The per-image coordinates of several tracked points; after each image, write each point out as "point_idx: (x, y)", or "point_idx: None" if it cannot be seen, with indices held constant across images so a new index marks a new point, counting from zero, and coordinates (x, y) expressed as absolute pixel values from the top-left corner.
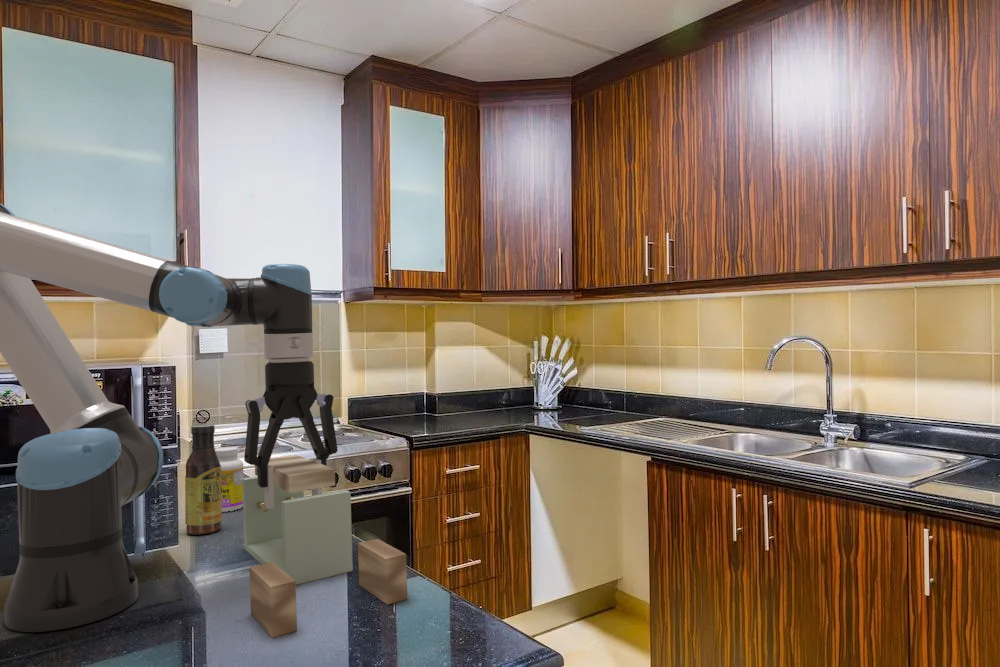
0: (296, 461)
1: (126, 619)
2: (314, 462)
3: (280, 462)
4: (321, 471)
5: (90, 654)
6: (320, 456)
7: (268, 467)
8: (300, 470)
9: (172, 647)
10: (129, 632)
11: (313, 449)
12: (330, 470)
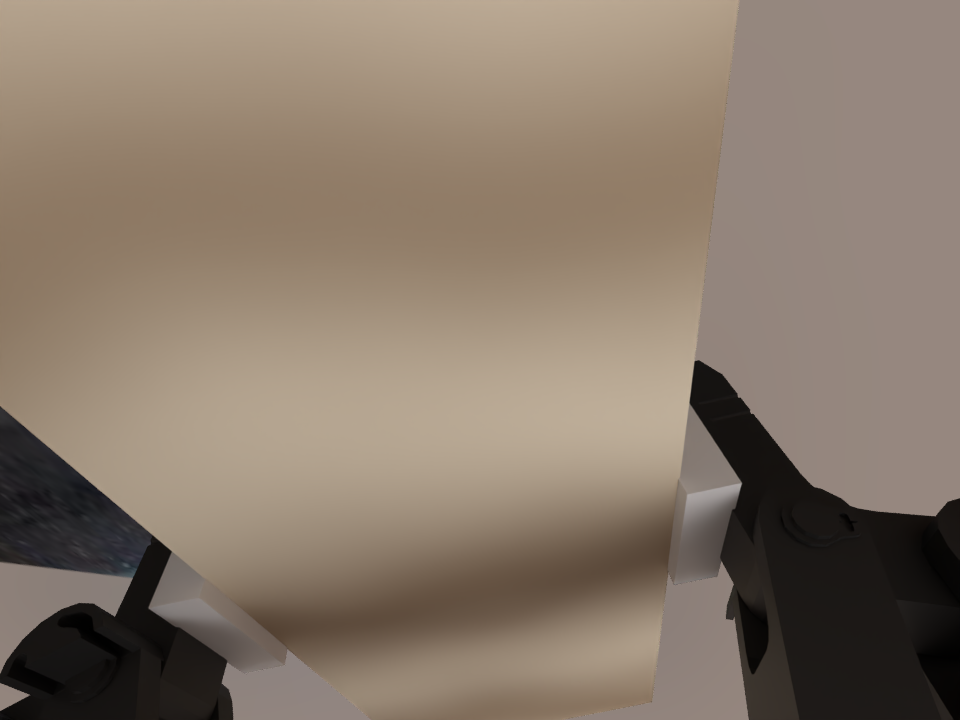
0: (520, 484)
1: (24, 469)
2: (652, 566)
3: (323, 467)
4: (577, 714)
5: (60, 562)
6: (734, 607)
7: (243, 672)
8: (480, 699)
9: None
10: (83, 517)
11: (771, 619)
12: (626, 703)
